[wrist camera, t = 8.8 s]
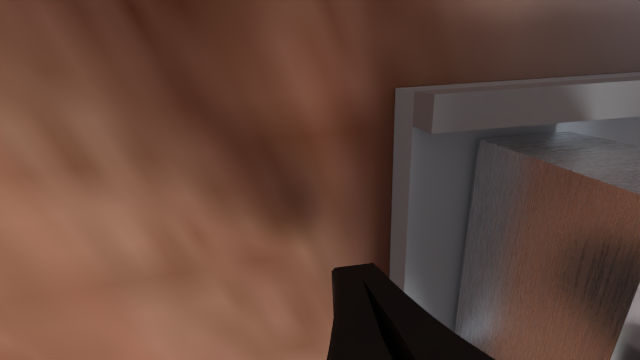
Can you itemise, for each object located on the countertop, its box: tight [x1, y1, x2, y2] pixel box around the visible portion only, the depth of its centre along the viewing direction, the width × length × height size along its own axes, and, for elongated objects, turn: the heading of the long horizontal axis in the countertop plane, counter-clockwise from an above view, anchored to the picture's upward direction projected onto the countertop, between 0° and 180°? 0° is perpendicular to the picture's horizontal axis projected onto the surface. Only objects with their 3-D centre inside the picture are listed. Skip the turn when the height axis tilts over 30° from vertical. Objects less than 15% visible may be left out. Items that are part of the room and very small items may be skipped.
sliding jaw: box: [454, 131, 640, 360], centre depth 8 cm, size 3×9×6 cm, turn 3°
